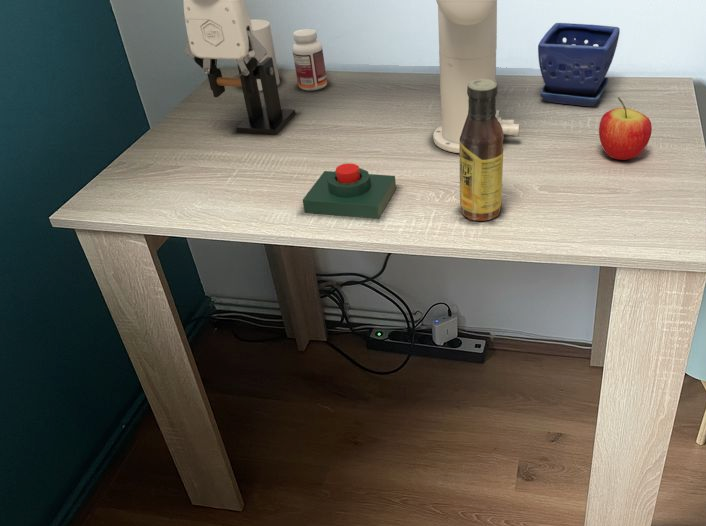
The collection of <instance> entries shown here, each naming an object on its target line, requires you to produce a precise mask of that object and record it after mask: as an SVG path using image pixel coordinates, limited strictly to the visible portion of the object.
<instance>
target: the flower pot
mask: <svg viewBox="0 0 706 526" xmlns="http://www.w3.org/2000/svg"><path fill="white" fill-rule="evenodd" d="M620 30H621V29H620V27H618V26H611V25H601V24H586V23H570V22H555V23H554V24H553V25H552V26H551V27H550V28H549V29H548V30H547V32H545V34H544V35H543V36H542V38H541V39H540V41H539V43H538V44H537V56H538V57H537V58H538V64H539V70H540V74H541V77H542V80H543V83H544V85H543V87H542V88H541V90H540V92H539V95H540V97H541V98H542V99H543V100H544V101H545V102H548V103H556V104H564V105H572V106H573V105H574V106H583V107H593V106H594V105H596V103H598V101H599V100H600V97H601V96H602V94H603V93H604V91H605V89H606V87H607V85H608V83H609V77H606V76H607V74H608V72H609V70H610V67H611V65H612V62H613V59H614V57H615V53H616V50H617V46H618V44H619V43H618V42H619V37H620V33H621V31H620ZM564 39H566V40H565V41H564ZM586 41H587V42H586Z"/></svg>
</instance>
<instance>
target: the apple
mask: <svg viewBox="0 0 706 526" xmlns="http://www.w3.org/2000/svg"><path fill="white" fill-rule="evenodd" d="M617 99H618V101H619V102H620V103H621V105H622V106H623V107H616V108H612V109H610V110H608V111H606V112H605V113H604V114H603V115H602V117H601V118H600V121H599V126H598V136H599V137H598V138H599V142H600V144H601V147H602V149H603V150H604V152H605V153H606V155H608V156H609V157H610V158H612V159H614V160H619V161H626V160H631V159H634V158H636V157H637V156H638V155H640V154H641V153H642V152H643V151H644V149H645V148H646V147H647V146H648V144H649V142H650V139H651V136H652V130H653V129H652V126H653V125H652V122H651V120H650V118H649V117H648V116H646V115H645V113H642V112H640V111H638V110H635V109H632V108H627V107H626V106H625V103H624V102H623V100H622V99H621V98H620V96H618V97H617Z"/></svg>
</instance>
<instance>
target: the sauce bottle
mask: <svg viewBox="0 0 706 526" xmlns="http://www.w3.org/2000/svg"><path fill="white" fill-rule="evenodd" d="M467 95H468V97H469V100H468V103H469V109H468V115H467V118H466V121H465V124H464V127H463V130H462V133H461V136H460V146H459V148H460V153H459V204H460V212H461V214H462V215H463V216H464V217H465V218H467V219H468V220H470V221H479V222H483V221H485V222H486V221H490V220H493V219H496V218H497V217H498V216H499V214H500V212H501V205H502V195H503V172H504V170H503V169H504V167H503V166H504V148H503V147H504V144H503V143H504V139H503V130H502V127H501V125H500V122H498V120H497V118H496V116H495V115H496V110H497V109H496V103H497V96H498V83H497V81H496V82H495V81H493V80H489V79H476V80H473V81H471V82H470V83H468V86H467Z"/></svg>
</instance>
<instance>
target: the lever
mask: <svg viewBox="0 0 706 526" xmlns="http://www.w3.org/2000/svg"><path fill="white" fill-rule="evenodd" d="M259 64H260V63H258V65H259ZM258 65H257V66H256V67H255V69H254V70H253V75H254V79H260V74H259V69H258ZM241 75H242V73H241V74H239V73H238V74H237V75H234V76H232V77H231V76H230V77H228V76H222V77H217V84H218V85H219V86H224V87H236V88H237V87H238V88H242V84H241V80H240V76H241Z"/></svg>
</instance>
